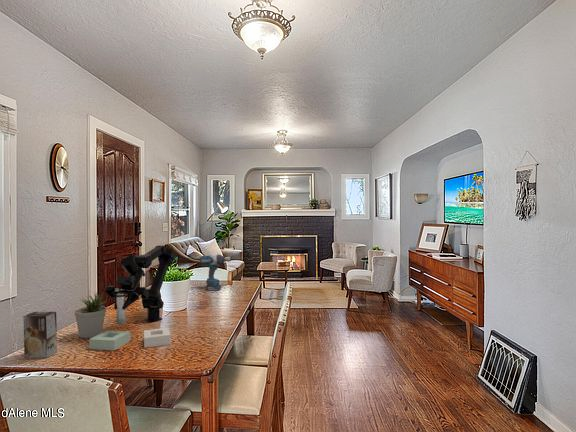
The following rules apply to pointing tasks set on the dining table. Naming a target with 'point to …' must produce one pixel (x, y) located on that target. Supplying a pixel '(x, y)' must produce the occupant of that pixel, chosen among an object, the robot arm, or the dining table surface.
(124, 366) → the dining table surface
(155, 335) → the socket block
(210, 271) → the impact wrench
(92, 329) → the potted plant
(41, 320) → the coffee box
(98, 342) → the block
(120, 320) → the metal cylinder
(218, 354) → the dining table surface
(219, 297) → the dining table surface
